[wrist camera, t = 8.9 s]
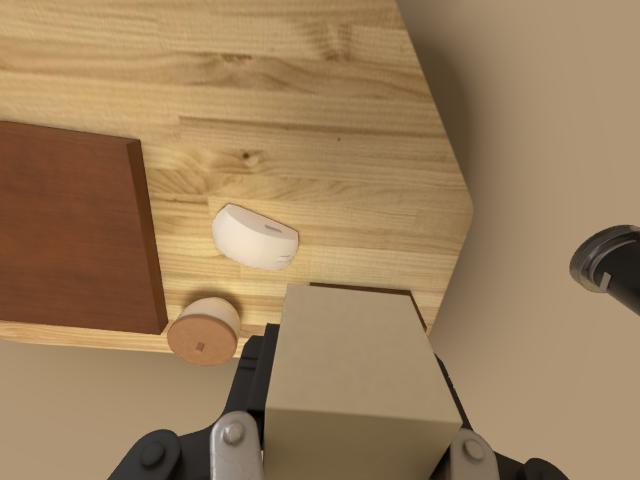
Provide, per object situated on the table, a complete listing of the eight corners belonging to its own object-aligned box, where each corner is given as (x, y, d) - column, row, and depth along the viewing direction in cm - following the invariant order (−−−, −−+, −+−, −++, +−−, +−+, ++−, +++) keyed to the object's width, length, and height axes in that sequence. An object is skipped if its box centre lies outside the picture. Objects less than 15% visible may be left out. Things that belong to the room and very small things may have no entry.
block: (287, 283, 11) (264, 407, 7) (410, 295, 11) (464, 422, 7) (281, 366, 14) (260, 499, 9) (382, 375, 14) (411, 508, 9)
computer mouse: (288, 263, 47) (284, 286, 41) (211, 233, 44) (195, 254, 38) (304, 231, 44) (302, 252, 38) (222, 197, 41) (208, 214, 36)
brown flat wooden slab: (-200, 92, 34) (-65, 300, 50) (-244, 92, 32) (-87, 312, 47) (140, 140, 37) (168, 322, 53) (126, 143, 35) (160, 335, 50)
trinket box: (193, 278, 48) (167, 318, 40) (254, 297, 50) (241, 338, 42) (182, 321, 53) (156, 365, 44) (238, 337, 55) (224, 382, 46)
